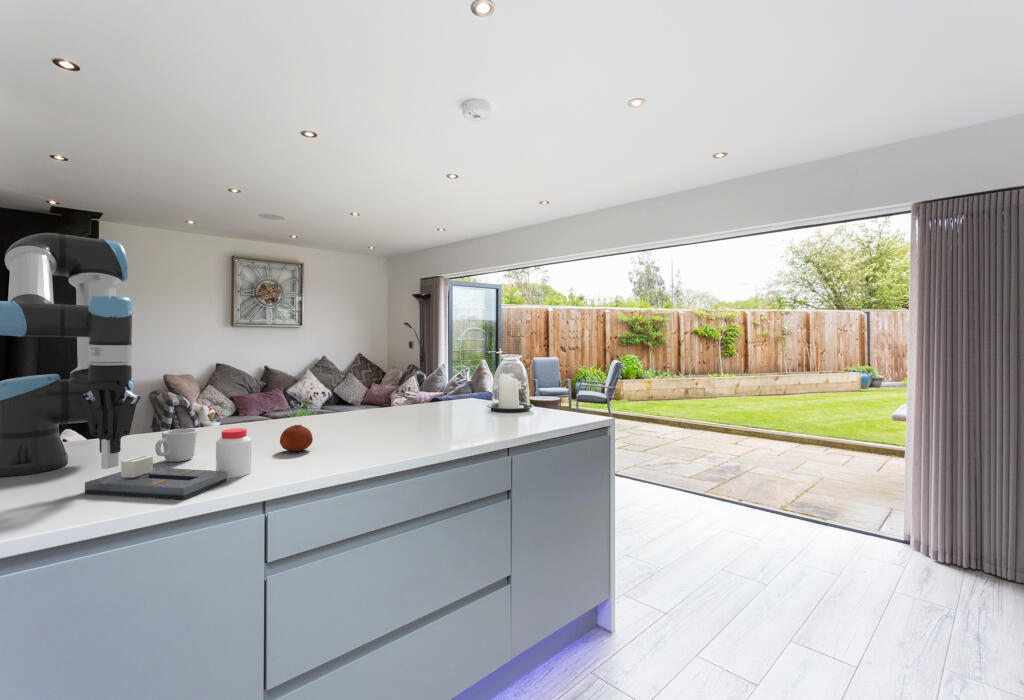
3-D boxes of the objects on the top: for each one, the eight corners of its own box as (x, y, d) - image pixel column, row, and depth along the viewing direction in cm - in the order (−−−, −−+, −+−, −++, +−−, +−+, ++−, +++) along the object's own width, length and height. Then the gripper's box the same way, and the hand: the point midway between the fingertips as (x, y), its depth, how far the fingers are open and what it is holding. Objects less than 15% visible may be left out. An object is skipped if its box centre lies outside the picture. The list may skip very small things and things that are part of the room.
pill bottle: (257, 469, 123) (257, 427, 123) (241, 478, 115) (241, 433, 115) (226, 469, 123) (227, 427, 123) (208, 478, 115) (209, 433, 115)
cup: (169, 467, 123) (169, 436, 123) (144, 465, 125) (144, 434, 125) (203, 457, 134) (204, 429, 134) (180, 455, 135) (180, 427, 135)
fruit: (273, 453, 141) (273, 426, 140) (293, 447, 149) (293, 421, 149) (298, 455, 138) (299, 428, 138) (318, 449, 147) (318, 423, 147)
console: (84, 494, 102) (84, 481, 102) (138, 476, 115) (138, 466, 115) (183, 500, 99) (184, 487, 99) (227, 481, 112) (227, 470, 112)
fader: (119, 483, 105) (119, 460, 105) (138, 477, 110) (139, 455, 110) (135, 484, 105) (135, 461, 105) (154, 477, 110) (154, 456, 110)
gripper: (67, 363, 104) (67, 470, 105) (121, 365, 103) (120, 473, 104) (100, 362, 112) (100, 461, 112) (151, 363, 111) (150, 464, 111)
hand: (109, 466), depth 108 cm, fingers closed
